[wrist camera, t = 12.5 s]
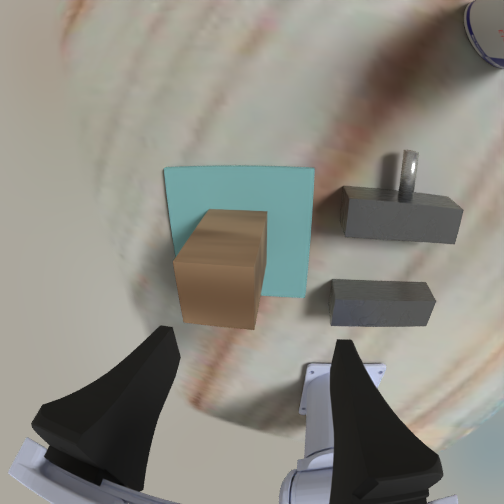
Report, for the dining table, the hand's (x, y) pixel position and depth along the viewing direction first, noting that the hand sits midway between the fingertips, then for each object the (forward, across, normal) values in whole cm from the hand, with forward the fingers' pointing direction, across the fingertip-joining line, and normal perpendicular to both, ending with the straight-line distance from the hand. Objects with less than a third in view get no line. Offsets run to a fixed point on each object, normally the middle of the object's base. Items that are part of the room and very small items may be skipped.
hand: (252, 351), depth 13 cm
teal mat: (+10, +2, 0) cm, 11 cm away
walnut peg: (+10, +2, 0) cm, 10 cm away
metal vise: (+10, -9, -1) cm, 14 cm away
